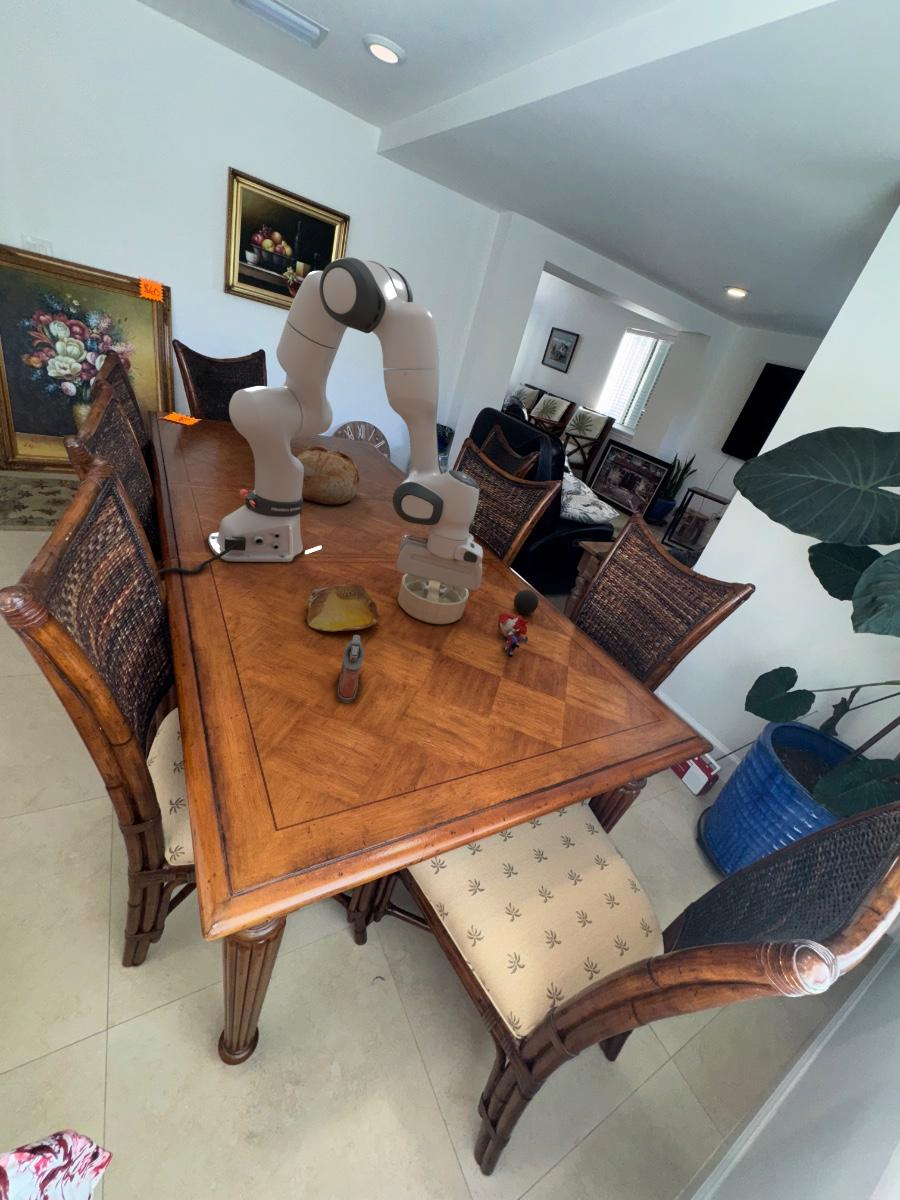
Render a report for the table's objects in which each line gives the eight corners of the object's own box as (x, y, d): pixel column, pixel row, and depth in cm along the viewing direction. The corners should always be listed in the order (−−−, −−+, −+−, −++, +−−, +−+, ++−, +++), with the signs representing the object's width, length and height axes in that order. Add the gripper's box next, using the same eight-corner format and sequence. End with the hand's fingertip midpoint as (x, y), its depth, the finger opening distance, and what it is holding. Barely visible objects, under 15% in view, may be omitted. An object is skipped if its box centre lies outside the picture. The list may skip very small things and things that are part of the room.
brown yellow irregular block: (391, 622, 100) (321, 613, 93) (378, 648, 104) (310, 641, 96) (374, 574, 112) (310, 563, 104) (363, 599, 116) (300, 590, 108)
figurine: (494, 656, 105) (489, 620, 119) (527, 670, 107) (518, 633, 120) (508, 634, 103) (502, 600, 116) (542, 648, 105) (532, 613, 118)
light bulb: (536, 588, 133) (540, 591, 123) (534, 611, 133) (538, 616, 124) (513, 586, 133) (515, 590, 123) (511, 609, 134) (513, 614, 124)
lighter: (340, 671, 90) (348, 627, 85) (358, 674, 91) (367, 630, 86) (335, 701, 83) (343, 655, 78) (355, 703, 84) (364, 658, 79)
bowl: (421, 631, 108) (427, 608, 105) (384, 593, 118) (389, 572, 116) (475, 619, 118) (482, 599, 116) (437, 586, 129) (442, 566, 126)
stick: (435, 615, 112) (438, 604, 111) (423, 612, 112) (426, 602, 111) (437, 591, 123) (440, 581, 121) (427, 588, 122) (429, 579, 121)
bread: (347, 513, 157) (354, 468, 150) (275, 496, 155) (279, 449, 148) (361, 489, 180) (368, 450, 173) (299, 474, 178) (303, 433, 171)
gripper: (399, 537, 106) (388, 590, 113) (489, 560, 108) (472, 611, 114) (404, 527, 112) (392, 578, 119) (488, 549, 113) (473, 598, 120)
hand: (432, 595), depth 117 cm, fingers closed on stick, 3 cm apart
